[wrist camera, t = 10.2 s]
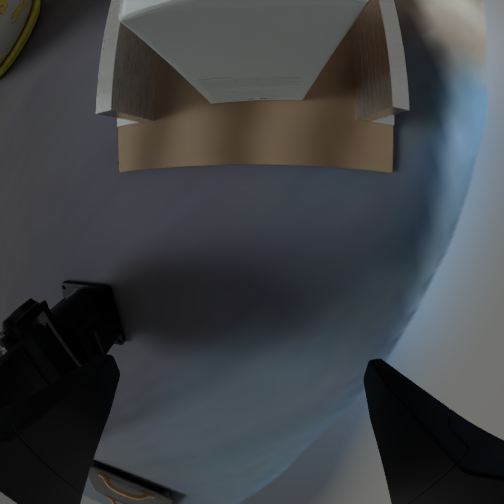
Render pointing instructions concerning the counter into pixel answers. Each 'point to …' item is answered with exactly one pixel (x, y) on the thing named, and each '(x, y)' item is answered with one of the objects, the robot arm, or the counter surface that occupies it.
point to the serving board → (125, 489)
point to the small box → (244, 42)
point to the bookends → (363, 54)
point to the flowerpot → (15, 28)
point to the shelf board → (258, 126)
